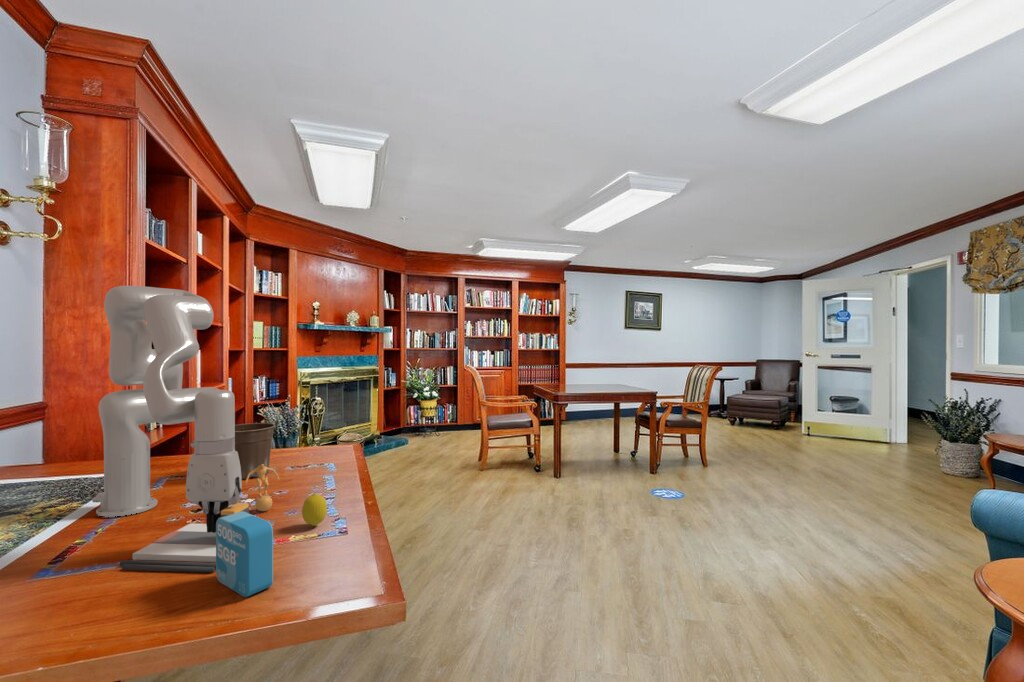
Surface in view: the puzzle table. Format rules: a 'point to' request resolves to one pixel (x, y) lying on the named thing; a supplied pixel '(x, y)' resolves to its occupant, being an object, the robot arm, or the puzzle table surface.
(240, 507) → the toggle
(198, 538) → the panel
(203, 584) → the puzzle table surface
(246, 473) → the plant pot
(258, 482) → the figurine
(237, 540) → the data package
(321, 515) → the lemon
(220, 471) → the robot arm
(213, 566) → the cords
